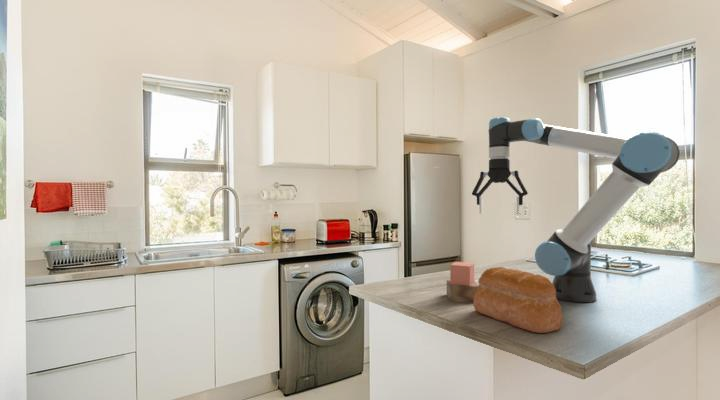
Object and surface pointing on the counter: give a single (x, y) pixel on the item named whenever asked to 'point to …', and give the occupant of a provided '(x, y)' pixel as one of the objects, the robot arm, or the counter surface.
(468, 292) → the walnut plinth
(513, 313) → the bread
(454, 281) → the pink cube
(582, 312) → the counter surface
